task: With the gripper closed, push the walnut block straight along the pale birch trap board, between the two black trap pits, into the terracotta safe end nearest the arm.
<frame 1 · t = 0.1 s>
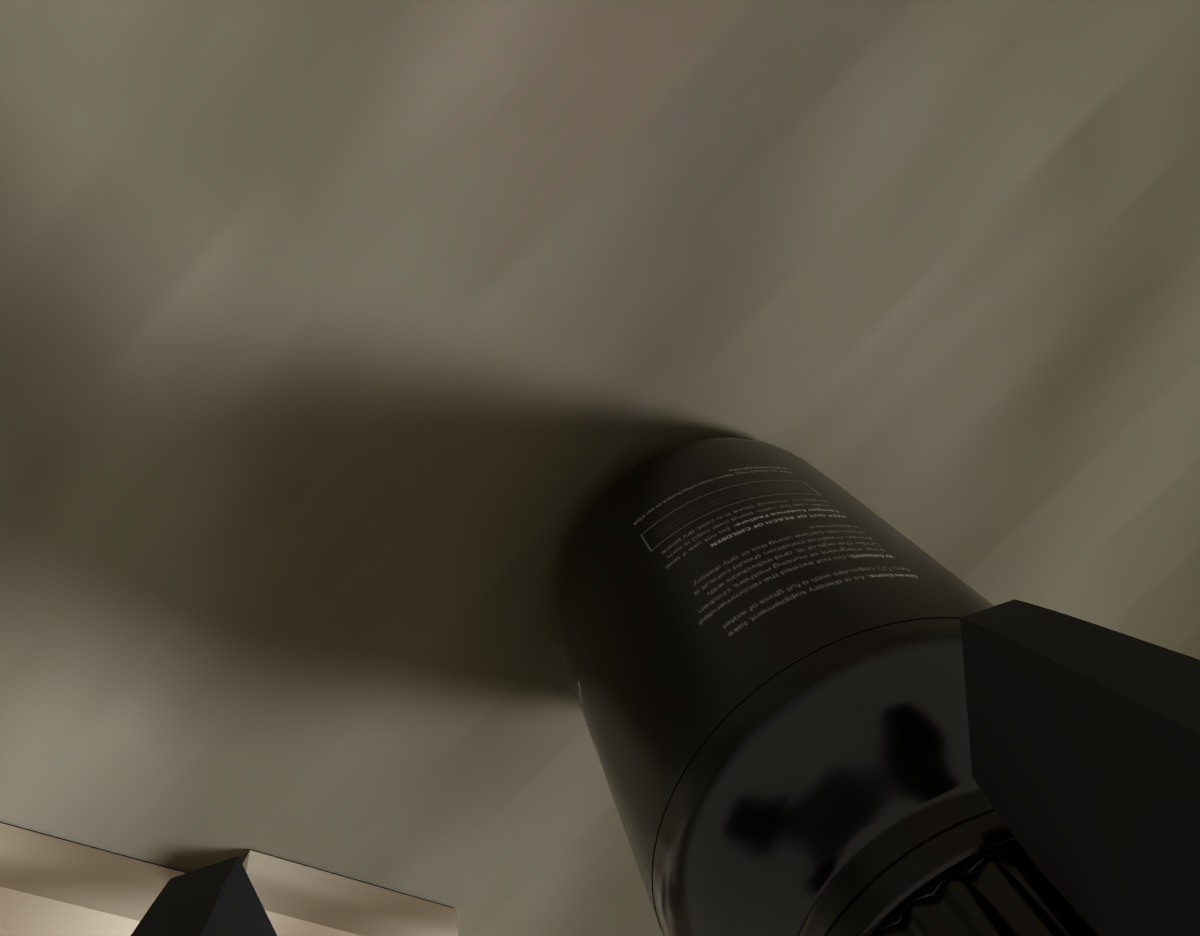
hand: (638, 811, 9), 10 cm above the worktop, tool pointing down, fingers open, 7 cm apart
supplement bottle: (698, 574, 20), on the worktop
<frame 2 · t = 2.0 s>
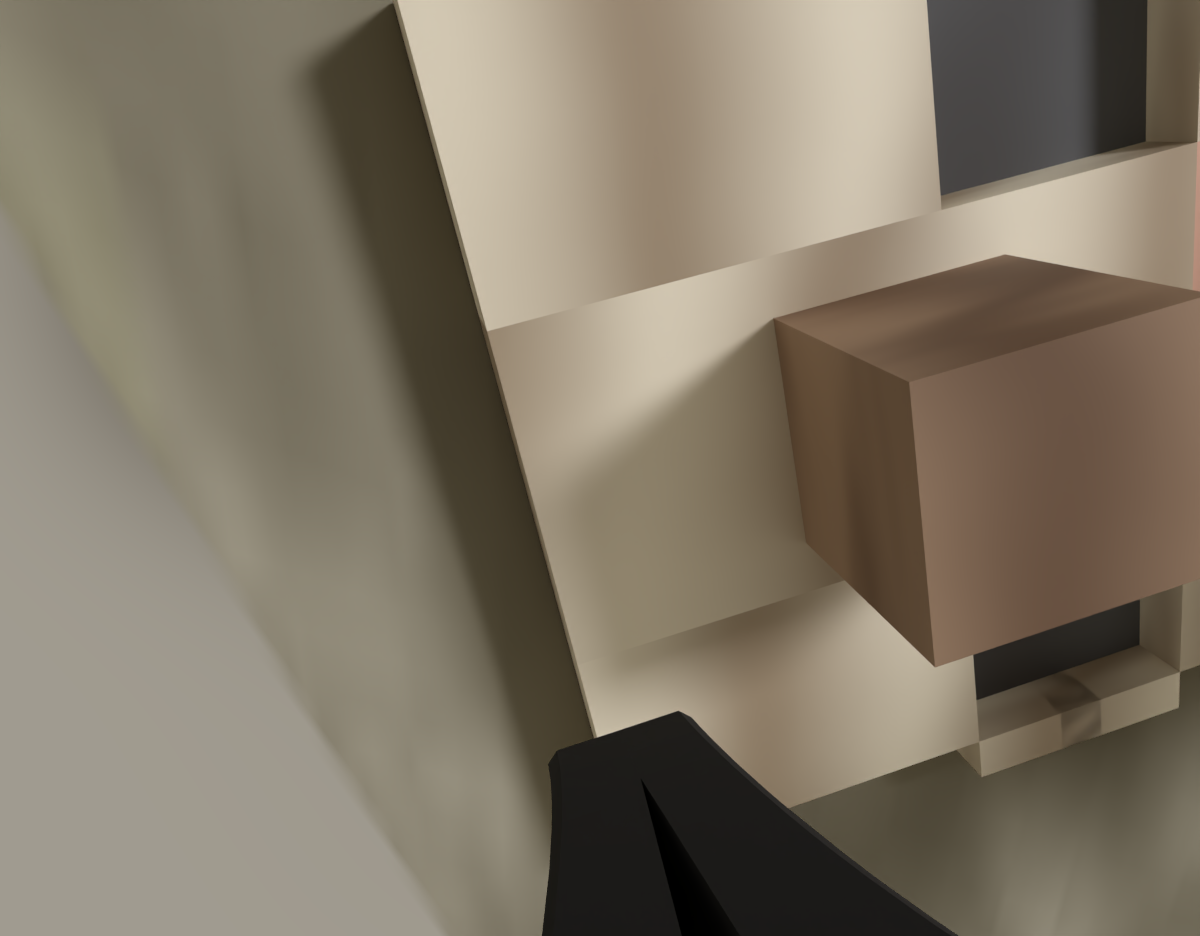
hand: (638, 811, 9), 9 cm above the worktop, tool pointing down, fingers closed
trap board: (979, 349, 18), on the worktop
walnut block: (902, 403, 17), point 1 cm above the worktop, touching trap board
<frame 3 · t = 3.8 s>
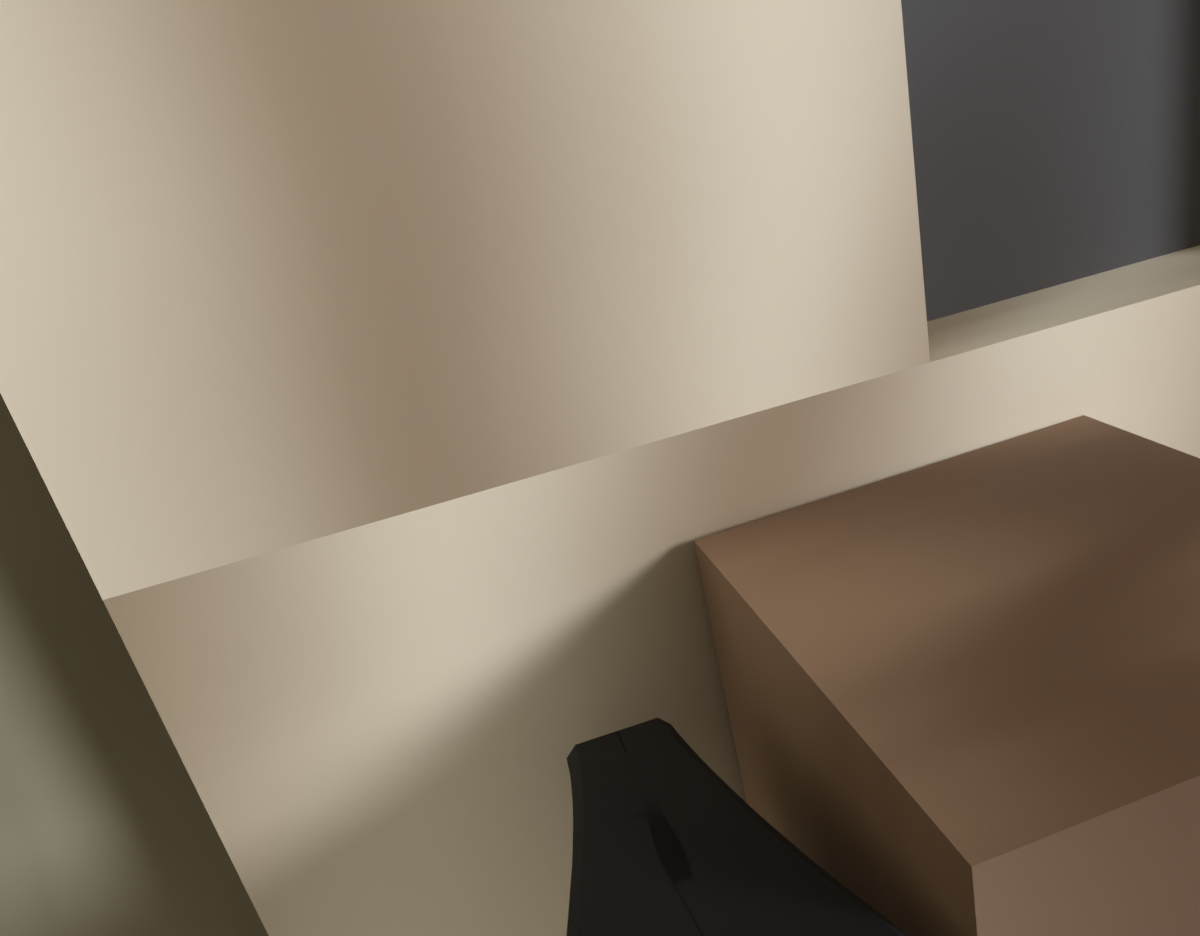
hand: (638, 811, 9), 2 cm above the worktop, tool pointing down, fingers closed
trap board: (992, 543, 12), on the worktop
walnut block: (914, 654, 10), point 2 cm above the worktop, touching gripper
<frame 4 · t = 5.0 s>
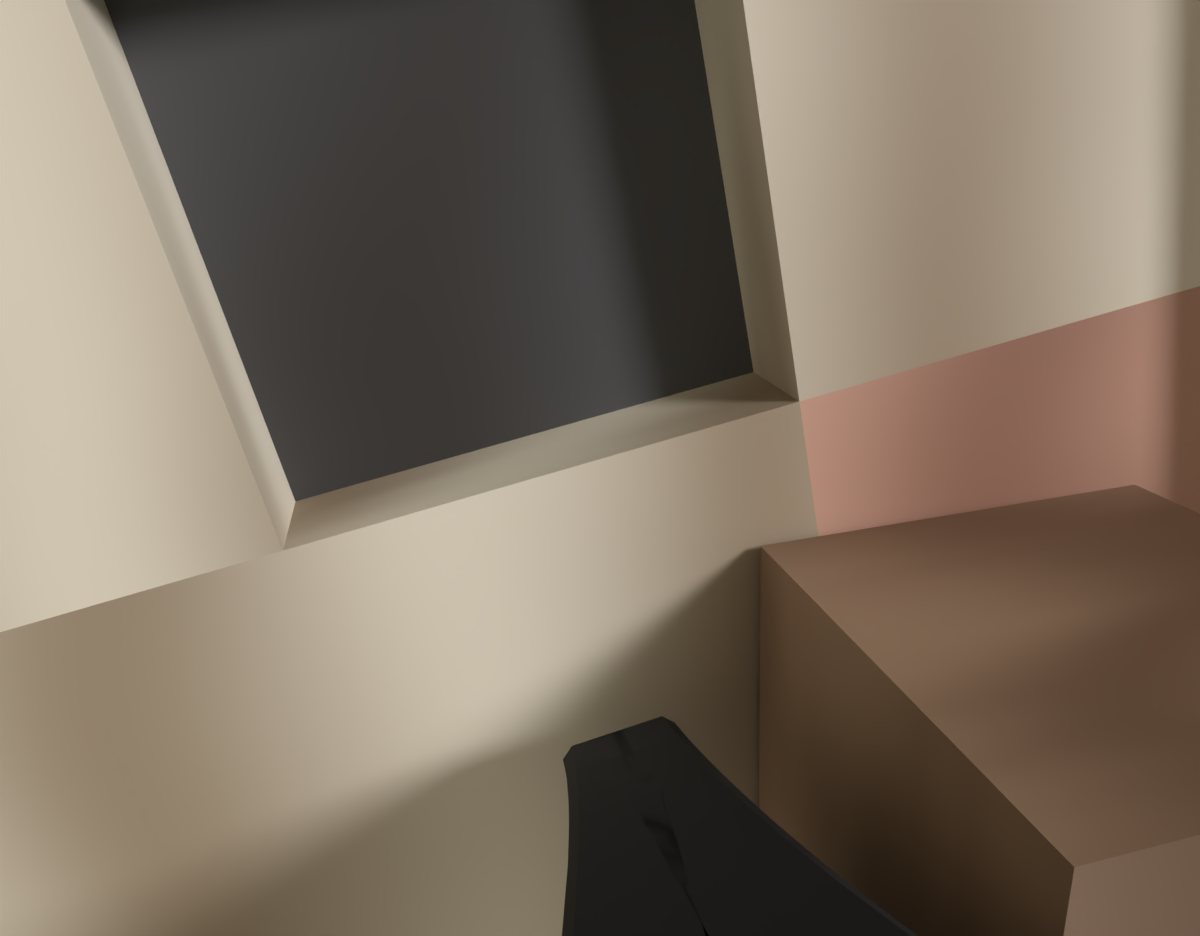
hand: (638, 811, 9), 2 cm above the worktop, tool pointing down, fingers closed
trap board: (513, 697, 11), on the worktop
walnut block: (940, 691, 10), point 2 cm above the worktop, touching gripper
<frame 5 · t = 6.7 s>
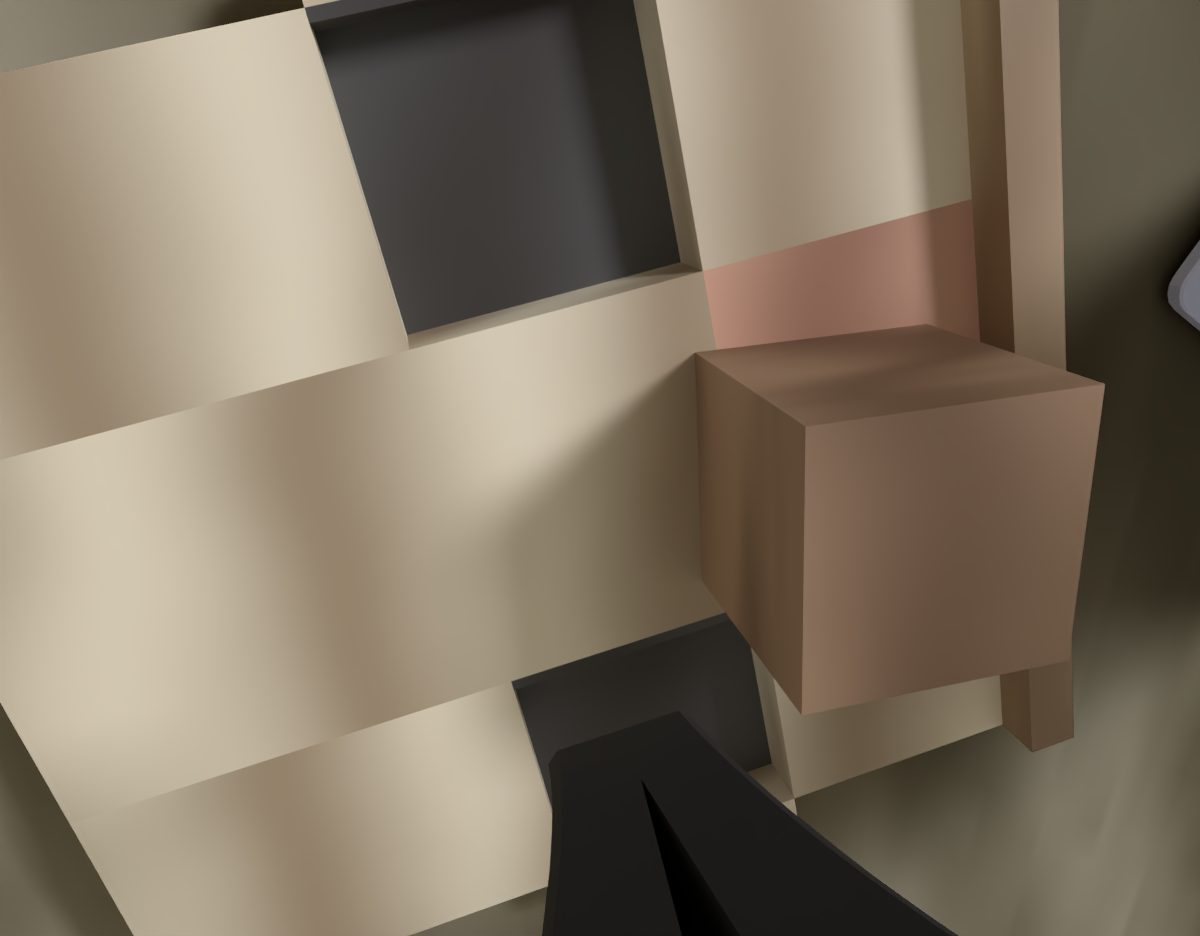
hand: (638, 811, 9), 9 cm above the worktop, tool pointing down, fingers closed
trap board: (533, 474, 17), on the worktop
walnut block: (811, 455, 17), point 1 cm above the worktop, touching trap board
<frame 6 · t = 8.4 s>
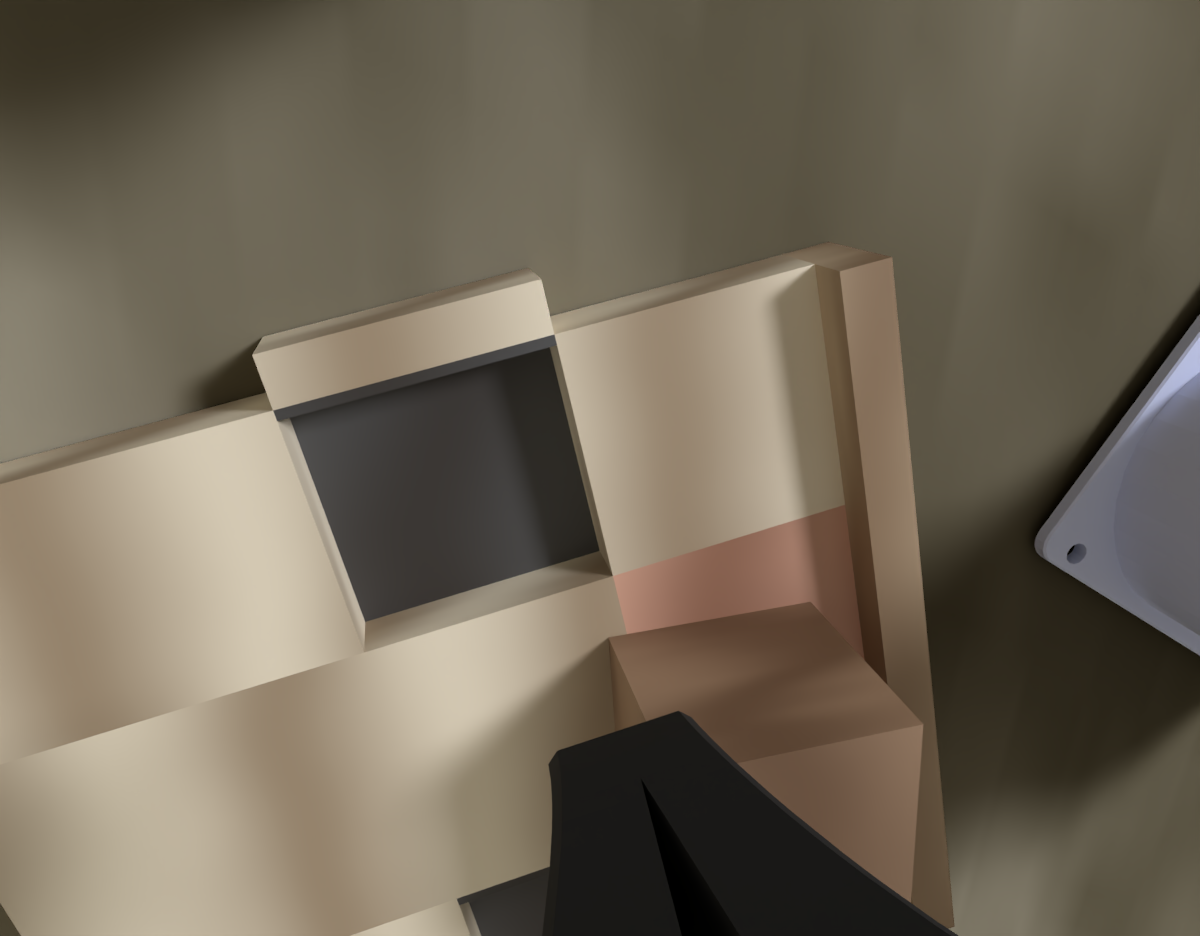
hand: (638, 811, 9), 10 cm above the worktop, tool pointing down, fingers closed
trap board: (477, 718, 20), on the worktop
walnut block: (713, 708, 20), point 1 cm above the worktop, touching trap board
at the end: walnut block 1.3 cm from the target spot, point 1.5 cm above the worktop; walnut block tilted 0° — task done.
